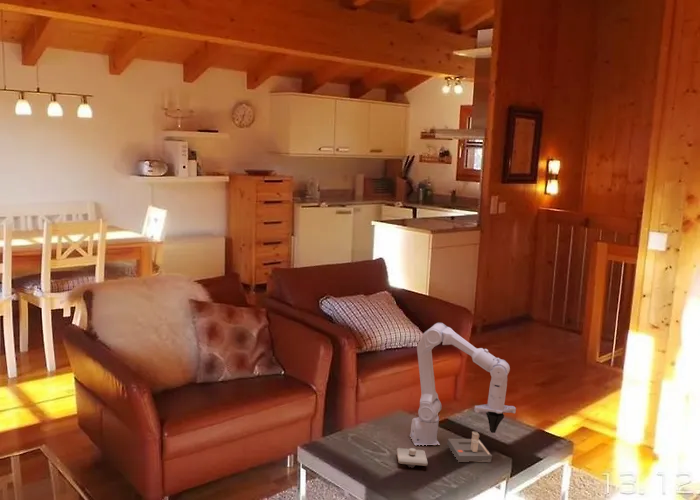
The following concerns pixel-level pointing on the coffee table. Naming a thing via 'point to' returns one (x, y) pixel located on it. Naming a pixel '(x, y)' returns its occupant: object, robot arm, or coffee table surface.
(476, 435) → the breaker
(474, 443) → the breaker
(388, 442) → the coffee table surface
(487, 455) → the grey flat block
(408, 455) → the light switch
